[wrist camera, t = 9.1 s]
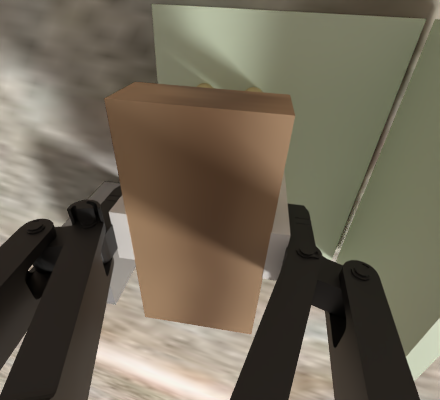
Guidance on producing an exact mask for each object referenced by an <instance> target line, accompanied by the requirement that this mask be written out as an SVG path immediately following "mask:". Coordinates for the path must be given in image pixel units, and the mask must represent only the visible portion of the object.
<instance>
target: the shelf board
mask: <svg viewBox="0 0 440 400" xmlns="http://www.w3.org/2000/svg"><path fill="white" fill-rule="evenodd" d="M104 100H105V106H106V111H107V116H108V122H109V127H110V132H111V137H112V143H113V148H114V153H115V159H116V164H117V169H118V175H119V180H120V185H121V190H122V196H123V201H124V206H125V212H126V215H127V220H128V225H129V231H130V236H131V241H132V247H133V252H134V257H135V265H136V270H137V275H138V281H139V286H140V291H141V297H142V302H143V307H144V312H145V317H150V318H156V319H162V320H168V321H174V322H180V323H186V324H192V325H198V326H204V327H210V328H216V329H222V330H228V331H234V332H241V333H247V334H251V333H252V328H253V323H254V318H255V313H256V308H257V303H258V298H259V293H260V288H261V283H262V276H263V271H264V266H265V261H266V256H267V251H268V246H269V241H270V236H271V233H272V229H273V224H274V219H275V214H276V209H277V204H278V199H279V194H280V189H281V184H282V179H283V174H284V169H285V164H286V159H287V154H288V149H289V144H290V139H291V134H292V129H293V124H294V119H295V113H294V109H293V105H292V100H291V96H290V95H288V94H276V93H264V92H252V91H240V90H228V89H216V88H204V87H191V86H179V85H167V84H155V83H143V82H134V83H132V84H130V85H128V86H127V87H125V88H123V89H121V90H119V91H117V92H115V93H113V94H112V95H110V96H108V97H106V98H104Z"/></svg>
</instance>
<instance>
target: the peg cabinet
mask: <svg viewBox="0 0 440 400" xmlns="http://www.w3.org/2000/svg"><path fill="white" fill-rule="evenodd" d="M151 7H152V19H153V32H154V44H155V57H156V70H157V82H158V84H167V85H179V86H191V87H204V88H216V89H228V90H240V91H252V92H264V93H276V94H288V95H290V96H291V100H292V105H293V109H294V113H295V119H294V124H293V129H292V134H291V139H290V144H289V149H288V154H287V159H286V164H285V169H284V171H285V182H286V192H287V203H288V204H296V205H304V206H305V207H306V209H307V210H308V211H309V214H310V220H311V224H312V225H311V226H312V229H313V234H314V239H315V244H316V247H317V248H319V249H320V251H321V253H322V256H324V257H325V258H327V259H329V260H332V257H333V255H334V252H335V250H336V247H337V244H338V242H339V239H340V237H341V234H342V232H343V229H344V227H345V224H346V222H347V219H348V217H349V214H350V211H351V209H352V206H353V204H354V201H355V199H356V196H357V194H358V191H359V189H360V186H361V184H362V181H363V179H364V176H365V173H366V171H367V168H368V166H369V163H370V161H371V158H372V156H373V153H374V151H375V148H376V146H377V143H378V140H379V138H380V135H381V133H382V130H383V128H384V125H385V123H386V120H387V118H388V115H389V113H390V110H391V107H392V105H393V102H394V100H395V97H396V95H397V92H398V90H399V87H400V85H401V82H402V80H403V77H404V74H405V72H406V69H407V67H408V64H409V62H410V59H411V57H412V54H413V52H414V49H415V47H416V44H417V42H418V39H419V36H420V34H421V31H422V29H423V26H424V24H425V21H426V19H420V18H402V17H383V16H365V15H347V14H329V13H310V12H292V11H274V10H255V9H237V8H219V7H200V6H182V5H164V4H151ZM349 260H359V261H362V262H365V263H367V264H368V265H370V266H372V267H373V268H374V269H375V270H376V271H377V273H378V275H379V277H380V280H381V283H382V286H383V289H384V292H385V295H386V298H387V301H388V304H389V307H390V310H391V313H392V316H393V319H394V322H395V325H396V328H397V331H398V334H399V337H400V340H401V343H402V346H403V350H404V353H405V356H406V359H407V362H408V365H409V368H410V371H411V374H412V377H413V380H414V381H415V380H416V379H417V378H418V377H419V376H420V375H421V374H422V373H423V372H424V371H425V370H426V369H427V368H428V367H429V366H430V365H431V364H432V363H433V362H434V361H435V360H436V359H437V358H438V357H439V356H440V20H438V19H435V21H434V23H433V26H432V28H431V31H430V33H429V35H428V38H427V40H426V43H425V45H424V48H423V50H422V52H421V55H420V57H419V60H418V62H417V65H416V67H415V70H414V72H413V74H412V77H411V79H410V82H409V84H408V87H407V89H406V92H405V94H404V96H403V99H402V101H401V104H400V106H399V109H398V111H397V114H396V116H395V118H394V121H393V123H392V126H391V128H390V131H389V133H388V136H387V138H386V140H385V143H384V145H383V148H382V150H381V153H380V155H379V158H378V160H377V162H376V165H375V167H374V170H373V172H372V175H371V177H370V179H369V182H368V184H367V187H366V189H365V192H364V194H363V197H362V199H361V201H360V204H359V206H358V209H357V211H356V214H355V216H354V219H353V221H352V223H351V226H350V228H349V231H348V233H347V236H346V238H345V241H344V243H343V245H342V248H341V250H340V253H339V255H338V258H337V260H336V261H337V263H338V264H341V265H344V263H345V262H346V261H349Z"/></svg>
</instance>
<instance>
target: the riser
mask: <svg viewBox="0 0 440 400" xmlns="http://www.w3.org/2000/svg"><path fill="white" fill-rule="evenodd" d="M118 186H120V183H113V182H104V183H103V184H102V185H101V186H100V187H99V188H98V189H97V190H96V191H95V192H94V193H93V194H92V195H91V196H90V197H89V198H88V199H87V200H95V201H98V202H99V203H100V204H101V203H102V202H103V201H105V199H106V198H107V196H109V194H110V193H111V192H112V191H113V189H115V188H117V187H118ZM64 226H72V222H71V219H70V218H69V219H68V220H67V221H66V222H65V223H64V224H63V225H62V226H61V227H64ZM113 258H114V267H113V272H112V277H111V283H110V288H109V293H108V298H107V303H109V304H115V305H116V303H117V301H118V299H119V297H120V296H121V294H122V292H123V290H124V288H125V286H126V284H127V282H128V280H129V278H130V276H131V274H132V273H133V271H134V269H135V267H136V265H135V260H132V259H125V258H119V254H118V250H116V252H115V253H114V255H113Z"/></svg>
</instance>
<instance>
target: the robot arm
mask: <svg viewBox="0 0 440 400" xmlns="http://www.w3.org/2000/svg"><path fill="white" fill-rule="evenodd" d="M67 211H68V214H69V216H70V219H71V222H72V226H64V227H54V225H53V222H52V221H50V220H48V219H37V220H33V221H30V222H28V223H26V224H24V225H23V226H22V227H20V228H19V229H18V230H17V231H16V232H15V233H14V234H13V235H12V236H11V237H10V238H9V239H8V240H7V241H6V242H5V243H4V244H3V245H2V246H1V247H0V370H1V368H2V367H3V365H4V364H5V362H6V361H7V360H8V358H9V357H10V355H11V354H12V352H13V351H14V349H15V348H16V346H17V345H18V343H19V342H20V340H21V339H22V338H23V336H24V335H25V333H26V332H27V333H26V335H25V338H24V340H23V342H22V345H21V347H20V349H19V352H18V354H17V356H16V359H15V361H14V364H13V366H12V368H11V371H10V373H9V375H8V378H7V380H6V383H5V385H4V387H3V390H2V392H1V394H0V400H88V395H89V390H90V385H91V379H92V374H93V369H94V364H95V359H96V354H97V349H98V344H99V339H100V334H101V328H102V323H103V318H104V313H105V308H106V303H107V298H108V293H109V288H110V283H111V277H112V272H113V267H114V258H113V255H114V253H115V252H116V250H118V254H119V258H125V259H132V260H135V257H134V252H133V247H132V241H131V236H130V231H129V225H128V220H127V215H126V212H125V206H124V201H123V196H122V190H121V185H120V186H118V187H117V188H115V189H113V191H112V192H111V193H110V194H109V196H107V198H106V199H105V201H103V202H102V203H101V204H100V203H99V202H98V201H95V200H81V201H78V202H75V203H74V204H72V205H70V206H69V208H68V209H67ZM311 225H312V224H311V220H310V214H309V211H308V210H307V209H306V207H305V206H304V205H296V204H288V203H287V192H286V182H285V171H284V174H283V179H282V184H281V189H280V194H279V199H278V204H277V209H276V214H275V219H274V224H273V229H272V233H271V236H270V241H269V246H268V251H267V256H266V261H265V266H264V271H263V276H262V278H263V279H270V280H277V281H276V284H275V287H274V289H273V292H272V294H271V297H270V299H269V302H268V304H267V307H266V309H265V312H264V315H263V317H262V320H261V322H260V325H259V327H258V330H257V332H256V335H255V337H254V340H253V342H252V345H251V348H250V350H249V353H248V355H247V358H246V360H245V363H244V365H243V368H242V370H241V373H240V375H239V378H238V381H237V383H236V386H235V388H234V391H233V393H232V396H231V398H230V400H288V399H289V395H290V391H291V386H292V382H293V378H294V374H295V370H296V366H297V362H298V357H299V353H300V349H301V345H302V341H303V337H304V333H305V329H306V324H307V320H308V316H309V312H310V308H311V305H313V306H315V307H318V308H320V309H322V310H324V311H325V316H326V325H327V334H328V343H329V352H330V361H331V370H332V379H333V389H334V398H335V400H420V398H419V395H418V392H417V389H416V386H415V383H414V380H413V377H412V374H411V371H410V368H409V365H408V362H407V359H406V356H405V353H404V350H403V346H402V343H401V340H400V337H399V334H398V331H397V328H396V325H395V322H394V319H393V316H392V313H391V310H390V307H389V304H388V301H387V298H386V295H385V292H384V289H383V286H382V283H381V280H380V277H379V275H378V273H377V271H376V270H375V269H374V268H373V267H372V266H370V265H368V264H367V263H365V262H362V261H359V260H349V261H346V262H345V263H344V265H341V264H338V263H336V262H333V261H331V260H329V259H327V258H325V257H324V256H322V253H321V251H320V249H319V248H317V247H316V244H315V239H314V234H313V229H312V226H311ZM32 264H33V266H34V267H33V268H32V269H31V270H30V271H28V269H29V268H30V267H31V266H32Z"/></svg>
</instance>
